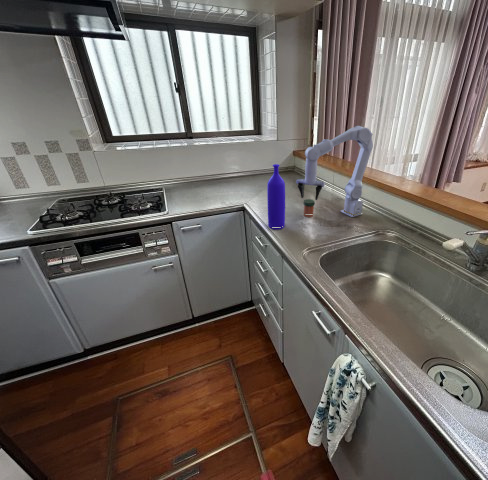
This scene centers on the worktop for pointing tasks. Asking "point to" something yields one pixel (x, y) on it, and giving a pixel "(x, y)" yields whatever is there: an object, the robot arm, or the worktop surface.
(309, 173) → the robot arm
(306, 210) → the jar
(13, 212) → the worktop surface
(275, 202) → the bottle
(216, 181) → the worktop surface
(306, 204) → the jar lid
